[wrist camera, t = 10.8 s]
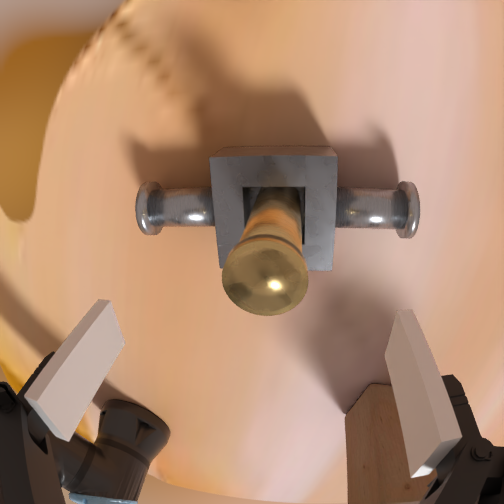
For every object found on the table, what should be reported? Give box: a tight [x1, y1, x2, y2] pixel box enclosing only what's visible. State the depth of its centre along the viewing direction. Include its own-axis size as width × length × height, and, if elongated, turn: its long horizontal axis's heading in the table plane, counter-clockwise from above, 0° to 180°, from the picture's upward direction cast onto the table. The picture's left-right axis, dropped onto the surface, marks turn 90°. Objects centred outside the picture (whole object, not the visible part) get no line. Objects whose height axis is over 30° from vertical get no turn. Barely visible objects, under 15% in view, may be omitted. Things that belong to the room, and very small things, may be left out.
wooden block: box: [345, 384, 437, 504], centre depth 34 cm, size 10×10×20 cm
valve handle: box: [222, 187, 308, 316], centre depth 23 cm, size 5×5×14 cm
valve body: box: [135, 146, 420, 271], centre depth 28 cm, size 25×10×6 cm, turn 93°
